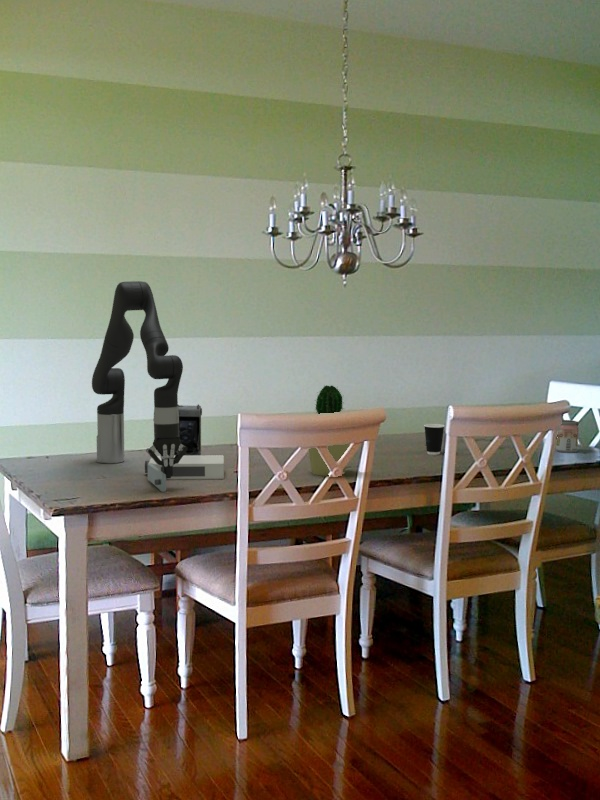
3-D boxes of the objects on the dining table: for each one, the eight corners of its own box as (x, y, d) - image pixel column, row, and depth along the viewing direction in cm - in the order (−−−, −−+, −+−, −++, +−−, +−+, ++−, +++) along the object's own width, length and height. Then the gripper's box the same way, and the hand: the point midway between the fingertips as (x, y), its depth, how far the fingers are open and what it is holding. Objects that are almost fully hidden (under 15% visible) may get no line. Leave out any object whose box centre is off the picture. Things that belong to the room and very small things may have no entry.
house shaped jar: (554, 448, 346) (555, 419, 345) (576, 449, 344) (577, 419, 343) (556, 452, 337) (557, 421, 336) (578, 453, 335) (580, 422, 334)
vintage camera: (170, 465, 304) (171, 409, 302) (175, 456, 320) (175, 403, 317) (198, 466, 305) (199, 410, 302) (201, 457, 320) (202, 404, 317)
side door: (142, 479, 276) (141, 463, 275) (152, 478, 277) (152, 462, 277) (156, 492, 257) (156, 475, 256) (167, 491, 258) (167, 474, 257)
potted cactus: (306, 477, 284) (306, 385, 281) (304, 468, 299) (305, 381, 296) (353, 477, 284) (354, 385, 281) (349, 468, 299) (350, 381, 296)
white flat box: (143, 479, 277) (143, 464, 277) (147, 470, 293) (147, 455, 293) (223, 478, 279) (223, 463, 279) (223, 469, 295) (223, 455, 295)
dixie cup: (419, 453, 332) (419, 425, 331) (431, 451, 338) (432, 423, 336) (435, 456, 326) (436, 427, 325) (448, 453, 332) (449, 425, 331)
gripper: (148, 424, 256) (149, 482, 258) (191, 421, 262) (192, 478, 264) (141, 421, 263) (143, 477, 265) (183, 418, 269) (184, 474, 270)
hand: (167, 477), depth 264 cm, fingers closed
